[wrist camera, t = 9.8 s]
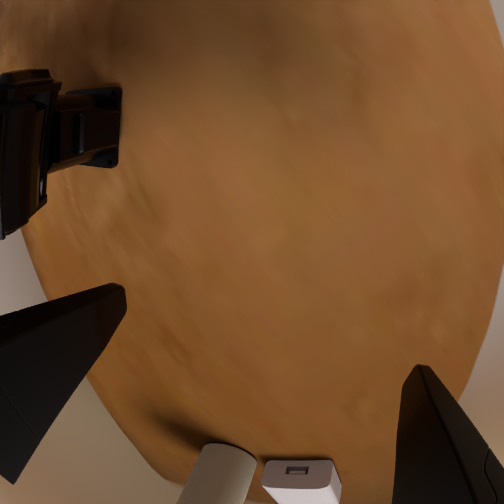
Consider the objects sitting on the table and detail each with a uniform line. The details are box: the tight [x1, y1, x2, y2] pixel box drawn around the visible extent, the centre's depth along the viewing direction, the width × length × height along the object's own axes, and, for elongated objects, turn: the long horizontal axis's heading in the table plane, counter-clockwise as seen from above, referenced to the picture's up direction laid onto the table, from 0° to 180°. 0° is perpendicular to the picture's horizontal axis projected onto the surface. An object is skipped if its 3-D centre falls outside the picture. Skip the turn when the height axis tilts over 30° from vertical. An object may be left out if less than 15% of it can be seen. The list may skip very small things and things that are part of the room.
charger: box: [260, 460, 342, 504], centre depth 33 cm, size 5×9×15 cm
